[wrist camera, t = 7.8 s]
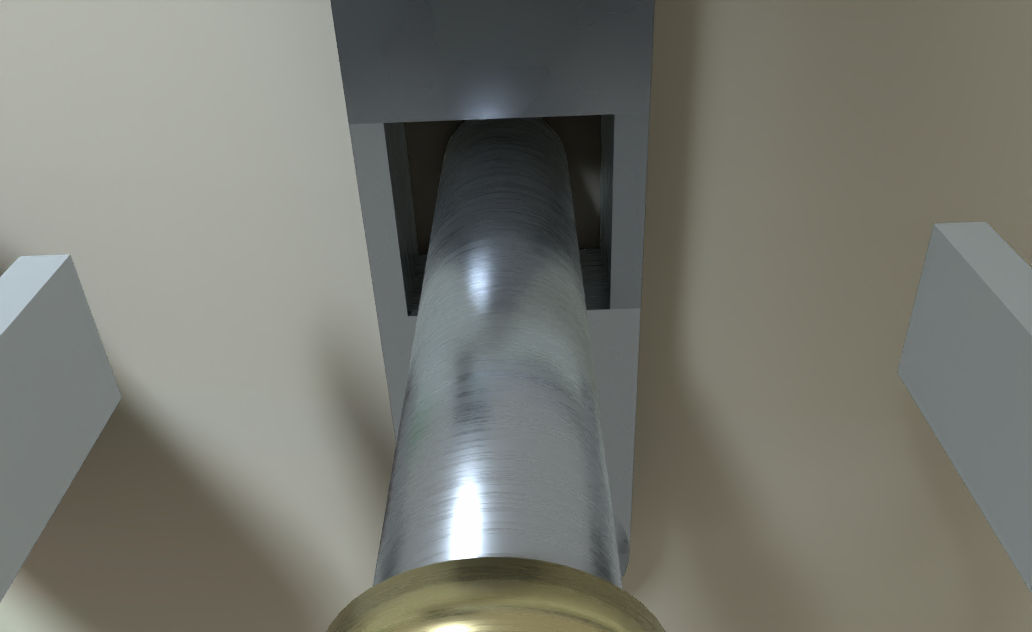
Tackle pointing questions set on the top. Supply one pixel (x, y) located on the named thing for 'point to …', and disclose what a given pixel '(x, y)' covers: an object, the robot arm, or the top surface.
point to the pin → (500, 415)
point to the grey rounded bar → (494, 95)
